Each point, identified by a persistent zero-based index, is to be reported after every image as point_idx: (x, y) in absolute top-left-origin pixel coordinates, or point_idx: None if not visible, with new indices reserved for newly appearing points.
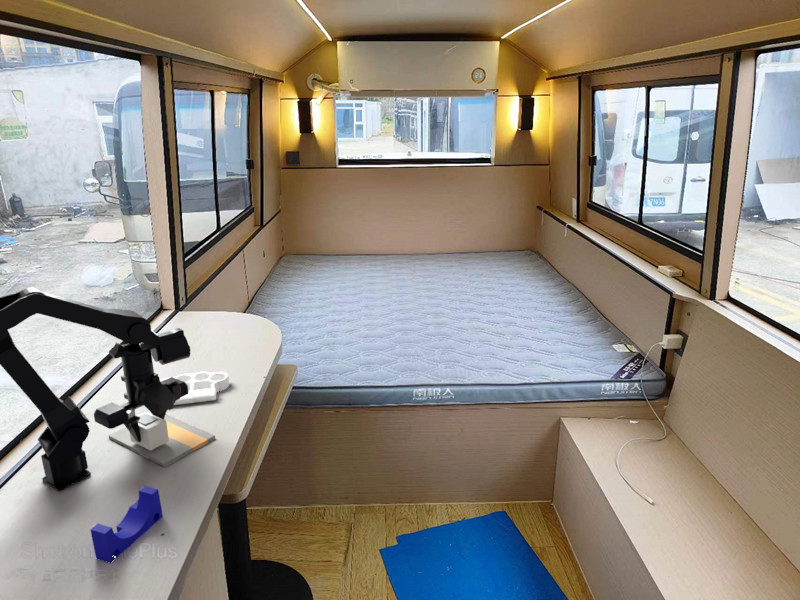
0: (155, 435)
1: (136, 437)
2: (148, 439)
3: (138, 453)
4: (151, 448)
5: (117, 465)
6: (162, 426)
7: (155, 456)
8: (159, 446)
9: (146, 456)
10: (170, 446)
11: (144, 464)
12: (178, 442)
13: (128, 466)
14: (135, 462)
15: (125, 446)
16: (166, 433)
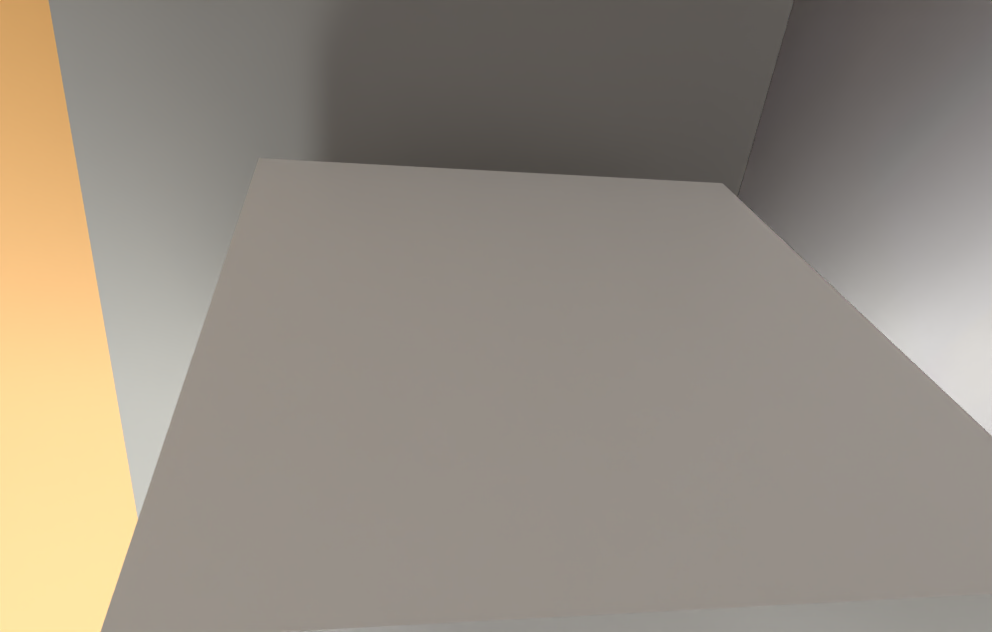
0: (668, 329)
1: None
2: (856, 336)
3: None
4: (712, 195)
5: (960, 366)
6: (388, 459)
7: (735, 2)
8: None
9: None
10: (313, 35)
11: (872, 60)
12: (87, 5)
13: (962, 231)
14: (852, 233)
15: None
16: (277, 262)
